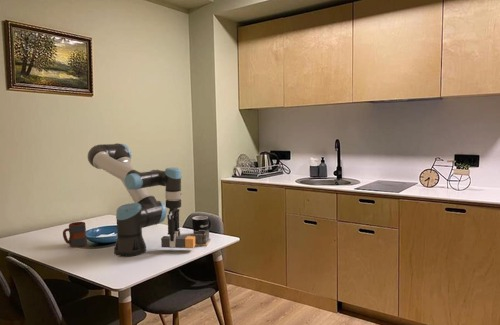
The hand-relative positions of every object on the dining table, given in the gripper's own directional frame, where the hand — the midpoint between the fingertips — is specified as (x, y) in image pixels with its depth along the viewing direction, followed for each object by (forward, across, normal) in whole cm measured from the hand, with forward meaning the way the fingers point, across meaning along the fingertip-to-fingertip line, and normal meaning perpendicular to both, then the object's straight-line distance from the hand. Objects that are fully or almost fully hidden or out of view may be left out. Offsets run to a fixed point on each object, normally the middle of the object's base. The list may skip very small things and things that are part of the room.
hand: (173, 245), depth 187 cm
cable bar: (+1, 0, -2) cm, 2 cm away
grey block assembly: (+3, +13, -6) cm, 14 cm away
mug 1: (+4, +6, +54) cm, 55 cm away
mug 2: (+3, +29, -9) cm, 30 cm away
